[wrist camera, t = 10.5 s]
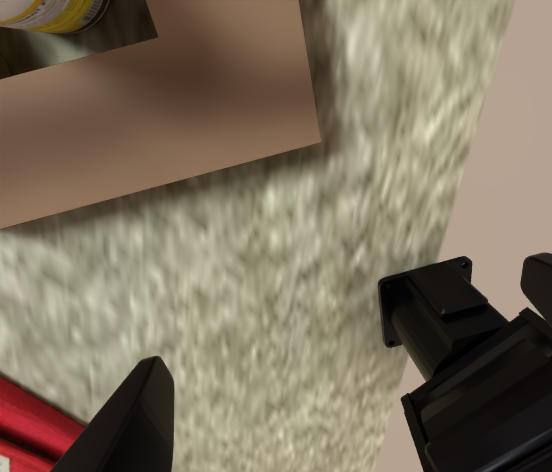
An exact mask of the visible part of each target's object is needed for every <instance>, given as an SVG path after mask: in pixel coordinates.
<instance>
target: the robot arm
mask: <svg viewBox="0 0 552 472" xmlns="http://www.w3.org/2000/svg"><path fill="white" fill-rule="evenodd" d="M463 263H464V264H463ZM462 264H463V265H462ZM471 274H472V261H471V260H470V259H469V258H468V257H466V256H462V257H458V258H454V259H450V260H447V261H443V262H440V263H436V264H432V265H429V266H425V267H421V268H418V269H414V270H410V271H407V272H403V273H399V274H396V275H392V276H388V277H385V278H382V279H381V280H380V281H379V282H378V294H379V304H380V314H381V324H382V334H383V342H384V344H385V345H386V347H388V348H392V347H395V346H399V345H404V347H405V349H406V350H407V352H408V353H409V355H410V357H411V358H412V360H413V361H414V363H415V365H416V366H417V368H418V369H419V371H420V373H421V374H422V376H423V377H424V379H425V381H426V382H425V383H424V384H422V385H421V386H420V387H418V388H417V389H415V390H414V391H413V392H411V393H410V394H409V393H407V394H406V395H404V396H403V397H402V398H401V402H402V405H403V408H404V411H405V412H404V414H405V417H406V420H407V423H408V426H409V429H410V432H411V435H412V438H413V441H414V444H415V447H416V450H417V453H418V456H419V459H420V462H421V465H422V467H423V471H424V472H552V254H550V253H539V254H536V255H532V256H529V257H527V258H526V259H525V260H524V263H523V269H522V276H521V284H520V285H521V289H522V291H523V293H524V294H525V296H526V297H527V298H528V299H529V300H530V302H531V303H532V304H533V305H534V306H535V308H536V309H537V310H538V311H539V313H540V314H541V315H542V316H543V318H544V319H545V320H544V319H543V318H541V317H540V316H539V315H537V314H536V313H535V312H533V311H532V310H531V309H529V308H528V307H527V308H525V309H524V310H522V311H521V312H519V314H520V315H519V316H517V317H516V318H514V319H513V320H512V321H510V322H509V321H508V320H507V319H506V318H504V317H503V316H502V315H501V314H500V313H499V312H498V311H497V310H496V309H495V308H493V307H492V306H491V305H490V304H489V303H488V300H487V298H486V297H485V296H484V295H482V294H481V293H480V292H479V291H478V290H477V289H476V288H475V287H474V286H473V285H472V284H471ZM386 284H387V285H386ZM384 285H386V286H384ZM173 446H174V380H173V377H172V375H171V374H170V372H169V370H168V368H167V367H166V365H165V363H164V362H163V360H162V358H161V357H160V356H153V357H149V358H145V359H143V360H141V361H140V362H139V363H138V364H137V365H136V367H135V368H134V369H133V370H132V371H131V373H130V374H129V375H128V376H127V378H126V379H125V380H124V381H123V382H122V384H121V385H120V386H119V387H118V389H117V390H116V391H115V392H114V393H113V395H112V396H111V397H110V398H109V399H108V401H107V402H106V403H105V404H104V406H103V407H102V408H101V409H100V410H99V412H98V413H97V414H96V415H95V417H94V418H93V419H92V420H91V421H90V423H89V424H88V425H87V426H86V428H85V429H84V430H83V431H82V432H81V434H80V435H79V436H78V437H77V439H76V440H75V441H74V442H73V443H72V445H71V446H70V447H69V448H68V450H67V451H66V452H65V453H64V454H63V456H62V457H61V458H60V459H59V461H58V462H57V463H56V464H55V465H54V467H53V468H52V469H51V470H50V471H49V472H171V470H172V461H173Z"/></svg>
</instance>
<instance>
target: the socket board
mask: <svg viewBox="0 0 552 472" xmlns="http://www.w3.org/2000/svg"><path fill="white" fill-rule="evenodd" d="M146 3H147V6H148V8H149V11H150V14H151V17H152V20H153V23H154V26H155V28H156V31H157V34H158V38H154V39H150V40H147V41H143V42H139V43H135V44H132V45H128V46H124V47H120V48H117V49H113V50H109V51H105V52H102V53H98V54H94V55H90V56H87V57H83V58H79V59H75V60H72V61H68V62H64V63H60V64H56V65H53V66H49V67H45V68H41V69H38V70H34V71H30V72H26V73H23V74H19V75H15V76H12V74H11V72H10V70H9V68H8V67H7V65H6V63H5V61H4V60H3V58H2V56H1V54H0V229H1V228H5V227H9V226H12V225H16V224H20V223H23V222H27V221H31V220H35V219H38V218H42V217H46V216H49V215H53V214H57V213H60V212H64V211H68V210H72V209H75V208H79V207H83V206H86V205H90V204H94V203H98V202H101V201H105V200H109V199H112V198H116V197H120V196H123V195H127V194H131V193H135V192H138V191H142V190H146V189H149V188H153V187H157V186H160V185H164V184H168V183H172V182H175V181H179V180H183V179H186V178H190V177H194V176H198V175H201V174H205V173H209V172H212V171H216V170H220V169H223V168H227V167H231V166H235V165H238V164H242V163H246V162H249V161H253V160H257V159H261V158H264V157H268V156H272V155H275V154H279V153H283V152H286V151H290V150H294V149H298V148H301V147H305V146H309V145H312V144H316V143H320V142H321V136H320V130H319V124H318V118H317V112H316V105H315V99H314V93H313V87H312V81H311V75H310V69H309V62H308V56H307V50H306V44H305V38H304V32H303V25H302V19H301V13H300V7H299V1H298V0H146Z"/></svg>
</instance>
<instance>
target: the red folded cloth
mask: <svg viewBox="0 0 552 472" xmlns="http://www.w3.org/2000/svg"><path fill="white" fill-rule="evenodd" d="M84 429H85V427H83V426H81V425H80V424H78V423H76V422H75V421H73V420H71V419H70V418H68V417H66V416H65V415H63V414H62V413H60V412H58V411H57V410H55V409H54V408H52V407H50V406H49V405H47V404H45V403H44V402H42V401H40V400H39V399H37V398H35V397H34V396H32V395H30V394H29V393H27V392H25V391H23V390H22V389H20V388H19V387H17V386H15V385H14V384H12V383H10V382H9V381H7V380H5V379H4V378H2V377H0V472H49V471H50V470H51V469H52V468H53V467H54V465H55V464H56V463H57V462H58V461H59V459H60V458H61V457H62V456H63V454H64V453H65V452H66V451H67V450H68V448H69V447H70V446H71V445H72V443H73V442H74V441H75V440H76V439H77V437H78V436H79V435H80V434H81V432H82V431H83V430H84Z"/></svg>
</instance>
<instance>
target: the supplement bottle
mask: <svg viewBox="0 0 552 472" xmlns="http://www.w3.org/2000/svg"><path fill="white" fill-rule="evenodd" d="M109 1H110V0H0V27H8V28H14V29H22V30H30V31H38V32H47V33H55V34H73V33H78V32H81V31H84V30H86V29H88V28H90V27H91V26H93V25H94V24H95V23H96V22H97V21H98V20H99V19H100V18H101V17H102V16H103V14H104V13H105V11H106V9H107V7H108V4H109Z"/></svg>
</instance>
